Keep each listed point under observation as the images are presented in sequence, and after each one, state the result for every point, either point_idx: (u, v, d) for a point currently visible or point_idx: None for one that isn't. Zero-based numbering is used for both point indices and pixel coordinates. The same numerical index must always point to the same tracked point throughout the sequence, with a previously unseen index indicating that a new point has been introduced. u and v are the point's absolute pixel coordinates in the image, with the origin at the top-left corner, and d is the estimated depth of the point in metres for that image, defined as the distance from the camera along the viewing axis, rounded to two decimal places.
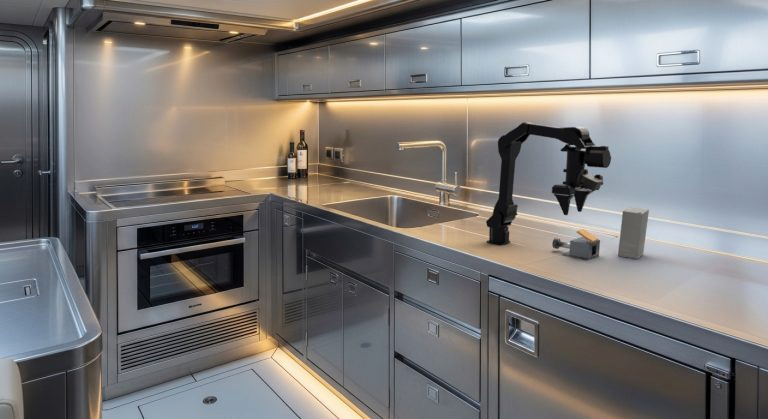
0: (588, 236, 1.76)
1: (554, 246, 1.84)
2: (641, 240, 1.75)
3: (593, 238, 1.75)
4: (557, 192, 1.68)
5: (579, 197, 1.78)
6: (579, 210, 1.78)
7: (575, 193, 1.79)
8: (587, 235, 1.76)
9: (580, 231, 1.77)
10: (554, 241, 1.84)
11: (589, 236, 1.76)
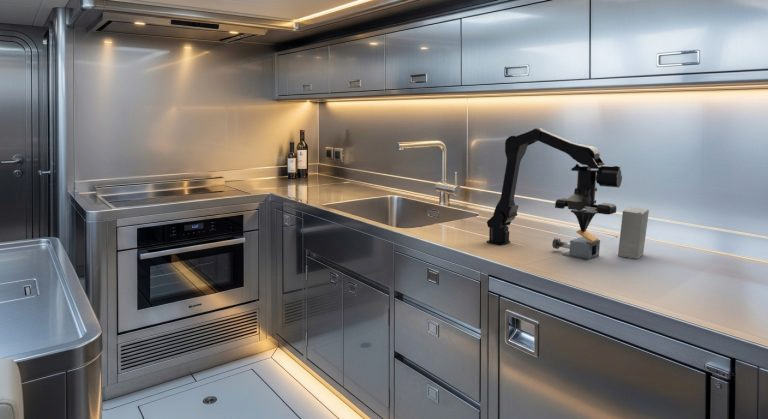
0: (588, 236, 1.76)
1: (554, 246, 1.84)
2: (641, 240, 1.75)
3: (593, 238, 1.75)
4: None
5: None
6: None
7: None
8: (587, 235, 1.76)
9: (580, 231, 1.77)
10: (554, 241, 1.84)
11: (589, 236, 1.76)
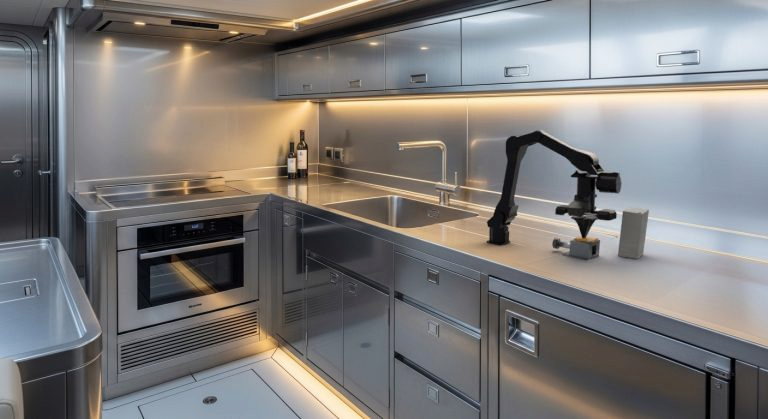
0: (586, 239, 1.76)
1: (554, 246, 1.84)
2: (641, 240, 1.75)
3: (592, 239, 1.76)
4: None
5: None
6: None
7: None
8: (585, 238, 1.77)
9: (577, 237, 1.78)
10: (554, 241, 1.84)
11: (587, 238, 1.76)
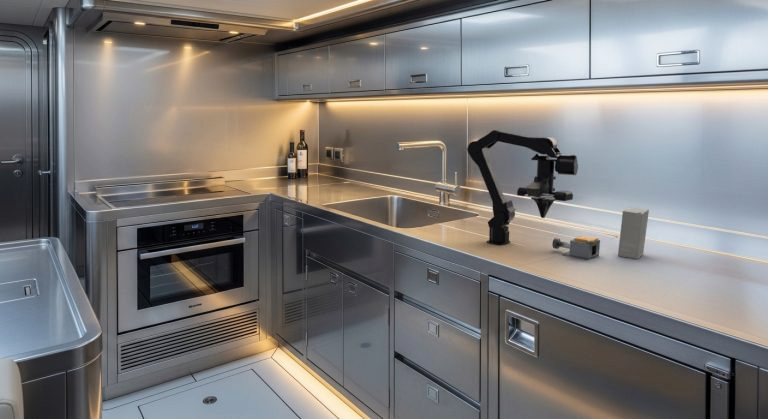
0: (586, 239, 1.76)
1: (554, 246, 1.84)
2: (641, 240, 1.75)
3: (592, 239, 1.76)
4: None
5: None
6: None
7: None
8: (585, 238, 1.77)
9: (577, 237, 1.78)
10: (554, 241, 1.84)
11: (587, 238, 1.76)
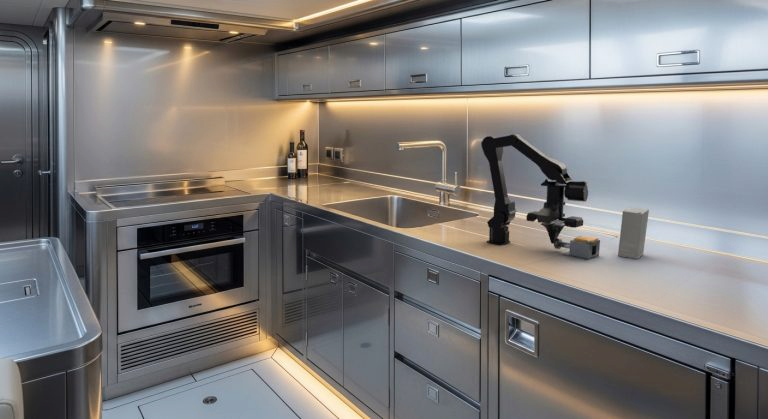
0: (586, 239, 1.76)
1: (555, 246, 1.84)
2: (641, 240, 1.75)
3: (592, 239, 1.76)
4: None
5: None
6: None
7: None
8: (585, 238, 1.77)
9: (577, 237, 1.78)
10: (555, 241, 1.84)
11: (587, 238, 1.76)
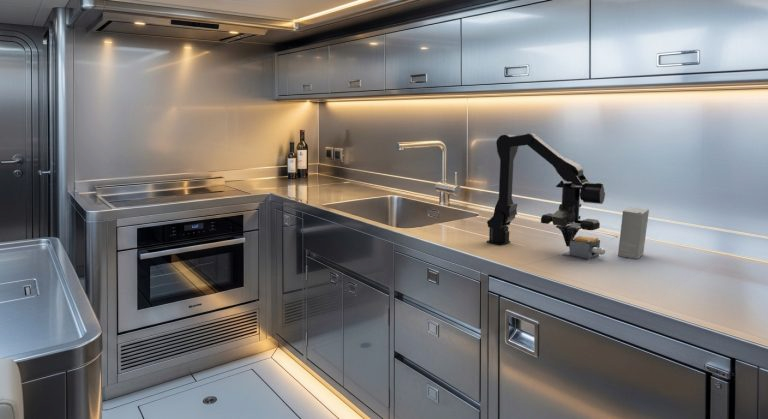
0: (586, 239, 1.76)
1: None
2: (641, 240, 1.75)
3: (592, 239, 1.76)
4: None
5: None
6: None
7: None
8: (585, 238, 1.77)
9: (577, 237, 1.78)
10: None
11: (587, 238, 1.76)
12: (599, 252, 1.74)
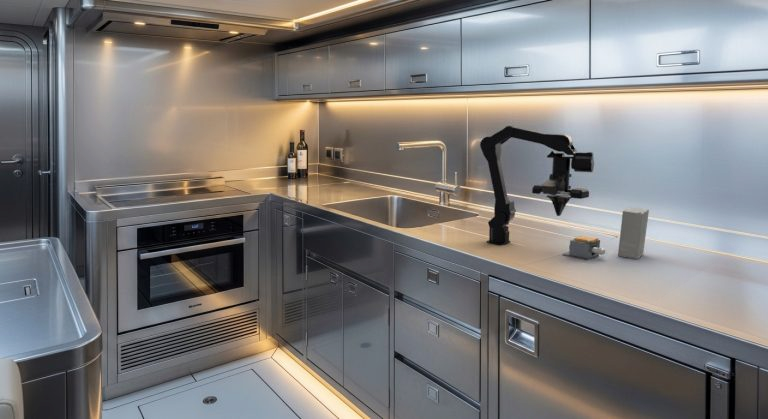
0: (586, 239, 1.76)
1: None
2: (641, 240, 1.75)
3: (592, 239, 1.76)
4: None
5: None
6: None
7: None
8: (585, 238, 1.77)
9: (577, 237, 1.78)
10: None
11: (587, 238, 1.76)
12: (599, 252, 1.74)
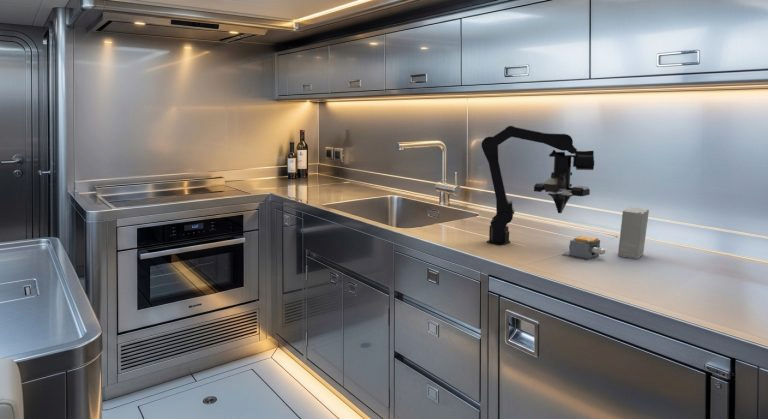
0: (586, 239, 1.76)
1: None
2: (641, 240, 1.75)
3: (592, 239, 1.76)
4: None
5: None
6: None
7: None
8: (585, 238, 1.77)
9: (577, 237, 1.78)
10: None
11: (587, 238, 1.76)
12: (599, 252, 1.74)
